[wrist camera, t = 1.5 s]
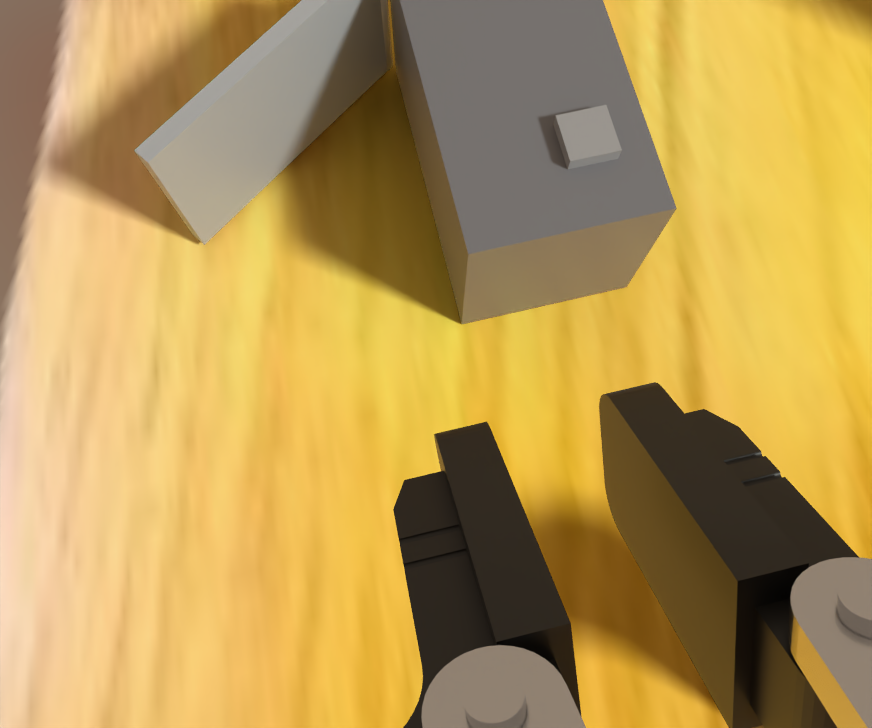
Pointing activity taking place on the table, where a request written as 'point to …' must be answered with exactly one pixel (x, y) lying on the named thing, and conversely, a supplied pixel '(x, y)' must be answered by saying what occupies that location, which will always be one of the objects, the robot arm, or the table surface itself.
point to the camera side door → (267, 108)
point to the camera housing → (528, 149)
